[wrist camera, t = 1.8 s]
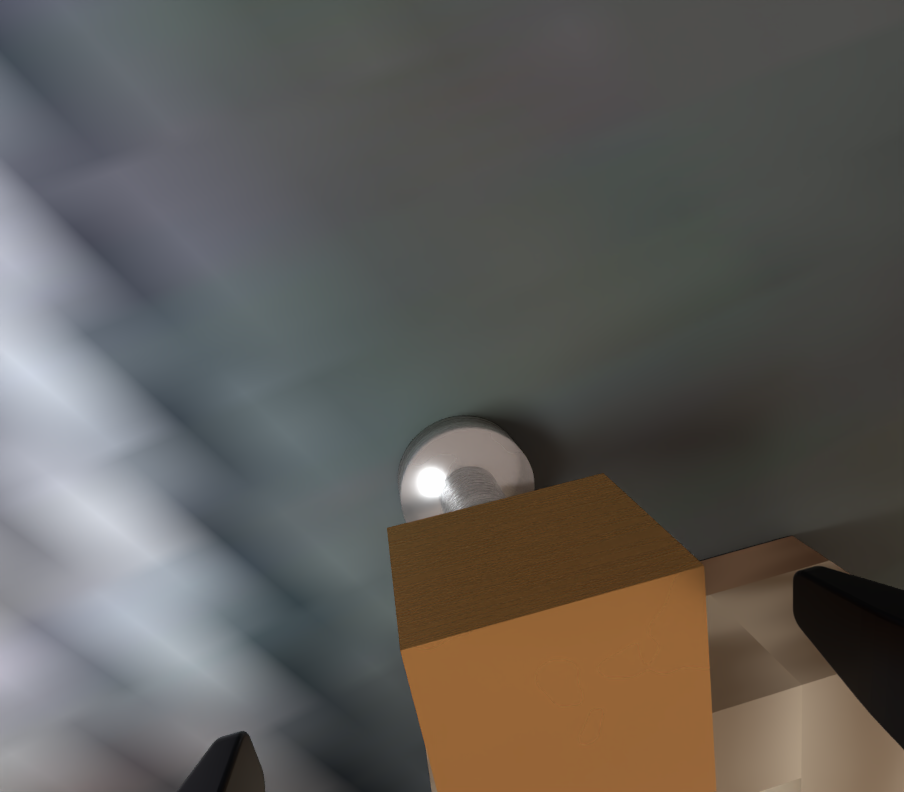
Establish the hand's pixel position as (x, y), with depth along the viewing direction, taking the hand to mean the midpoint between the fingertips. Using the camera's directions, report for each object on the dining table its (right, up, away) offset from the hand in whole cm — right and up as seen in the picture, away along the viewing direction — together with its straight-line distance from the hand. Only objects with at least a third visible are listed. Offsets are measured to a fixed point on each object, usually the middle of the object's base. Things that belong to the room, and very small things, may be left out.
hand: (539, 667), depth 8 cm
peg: (-1, +2, +7) cm, 7 cm away
